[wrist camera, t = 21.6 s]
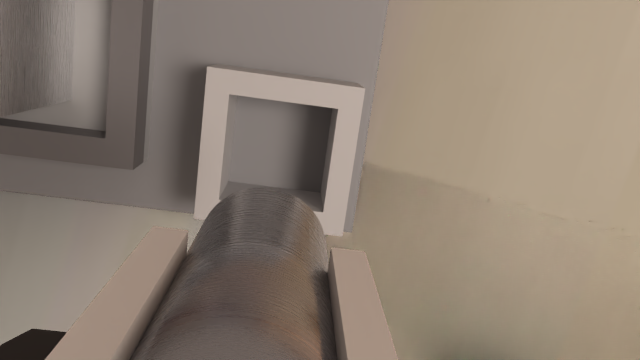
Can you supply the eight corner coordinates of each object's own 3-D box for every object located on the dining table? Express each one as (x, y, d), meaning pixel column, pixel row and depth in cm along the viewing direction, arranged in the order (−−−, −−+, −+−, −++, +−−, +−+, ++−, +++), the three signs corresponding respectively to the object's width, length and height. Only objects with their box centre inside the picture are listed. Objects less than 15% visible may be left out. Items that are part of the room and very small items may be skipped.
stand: (-109, 169, 33) (-187, 193, 28) (-124, -161, 29) (-220, -208, 24) (349, 224, 35) (358, 257, 30) (397, -79, 31) (417, -104, 26)
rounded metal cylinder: (192, 298, 15) (9, 726, 6) (205, 178, 15) (16, 443, 5) (315, 313, 16) (339, 748, 6) (334, 196, 15) (397, 481, 5)
